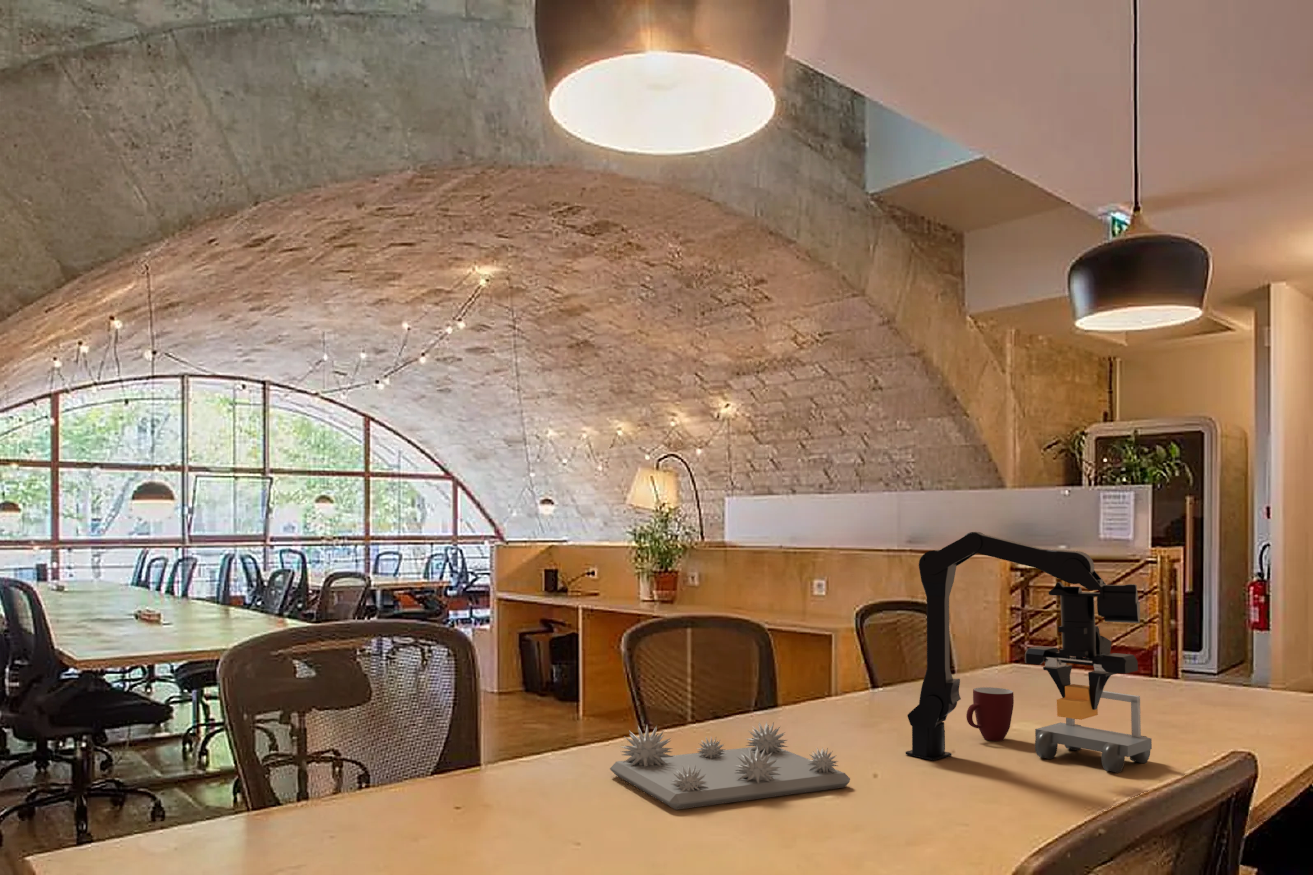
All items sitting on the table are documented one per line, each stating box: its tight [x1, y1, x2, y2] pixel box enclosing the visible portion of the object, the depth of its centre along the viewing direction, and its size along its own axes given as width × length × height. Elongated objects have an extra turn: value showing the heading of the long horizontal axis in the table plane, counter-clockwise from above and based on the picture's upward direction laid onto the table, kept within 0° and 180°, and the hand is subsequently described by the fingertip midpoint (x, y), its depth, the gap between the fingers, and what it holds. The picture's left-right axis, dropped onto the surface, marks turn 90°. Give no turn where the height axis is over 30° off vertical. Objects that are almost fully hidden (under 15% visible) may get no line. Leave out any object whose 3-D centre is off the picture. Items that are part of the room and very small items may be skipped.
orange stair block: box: [1056, 683, 1099, 721], centre depth 185 cm, size 6×4×5 cm
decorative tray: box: [609, 720, 851, 810], centre depth 179 cm, size 35×26×10 cm
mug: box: [965, 686, 1015, 742], centre depth 214 cm, size 10×8×10 cm
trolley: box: [1034, 690, 1152, 774], centre depth 197 cm, size 16×18×13 cm
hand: (1081, 707), depth 186 cm, fingers closed on orange stair block, 4 cm apart
